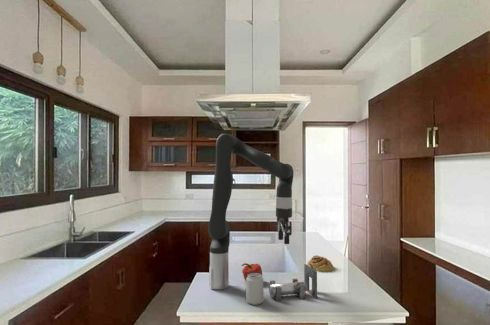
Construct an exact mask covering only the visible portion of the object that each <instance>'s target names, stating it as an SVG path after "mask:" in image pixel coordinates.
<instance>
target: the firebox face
mask: <svg viewBox="0 0 490 325" xmlns="http://www.w3.org/2000/svg"><path fill="white" fill-rule="evenodd" d="M307 264H308V263H305V264H304V269H303V271H304V273H303V274H304V275H303V276H304V279H303V280H304V281H303V282H304V284H305V287H306V291H305V292H307V293H308V294H309V295H310V294H311V295H312V296H313V297H312V296H311V295H310V296H311V297H312V298H314V299H315V300H317V299H318V271H315V270H314V269H312V268H311V267H309V266H308V265H307ZM310 278H311V290H310ZM316 298H317V299H316Z"/></svg>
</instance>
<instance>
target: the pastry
mask: <svg viewBox="0 0 490 325" xmlns="http://www.w3.org/2000/svg"><path fill="white" fill-rule="evenodd" d="M306 264H307V265H308V266H309V267H311V268H312V269H314V270H315V271H317V273H328V272H333V271H335V267H334V265H333V263H332V262H331V260H329V259H327V258H326V257H324V256H320V255H317V254H316V255H313V256H312V257H311V258H310V260H309V261H308V262H307V263H306Z"/></svg>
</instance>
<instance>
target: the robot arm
mask: <svg viewBox="0 0 490 325" xmlns="http://www.w3.org/2000/svg"><path fill="white" fill-rule="evenodd" d="M232 154H234V155H236V156H240V157H242V158H243V159H246V160H247V161H249V162H250V163H251V164H253V165H254V166H256V167H258V168H261V170H264V171H266V172H268V173H270V174H271V175H273V176H275V177H276V178H278V184H277V185H276V197H275V198H276V199H275V217H276V230H277V235H278V237H277V238H278V241H283V242H284V243H283V244H284V245H289V244H290V236H292V233H293V232H292V230H293V229H292V221H290V220H289V219H290V218H293V189H292V188H293V181H294V168H293V166H292V165H291V164H289V163H285V162H281V161H279V160H277V159H275V157H272V156H271V155H270V154H267V153H265V152H263V151H260V150H259V149H256V148H254V147H252V146H249V145H248V144H246V143H245V142H244V141H242V140H240V139H239V138H237V137H236V136H235V135H234V134H229V133H221V134H220V135H219V136H218V137H217V139H216V143H215V167H214V168H215V169H214V178H213V185H212V197H211V212H210V216H209V217H210V218H209V221H208V227H207V231H208V235H209V236H210V238H211V242H210V245H209V267H208V268H209V269H208V270H209V272H208V274H209V278H208V279H209V280H208V281H209V284H208V285H209V287H210V289H211V290H218V291H219V290H226V289H228V288H229V287H230V276H229V275H230V270H229V269H230V267H229V266H230V263H229V254H230V253H229V250H230V248H229V247H230V240H231V238H230V237H231V232H230V231H231V228H230V224H229V222H228V220H227V218H226V217H227V209H228V206H229V204H230V200H231V197H232V191H233V190H232V189H233V182H234V181H233V174H232V170H231V158H232V157H231V156H232Z"/></svg>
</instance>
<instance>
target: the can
mask: <svg viewBox="0 0 490 325" xmlns="http://www.w3.org/2000/svg"><path fill="white" fill-rule="evenodd" d="M245 282H246V283H245V294H246V295H245V298H246V302H247V303H248V304H249V305H252V306H256V305H257V306H258V305H260V304H262V303H263V302H264V277H263V274H262V275H261V274H259V273H250V274H248V277H247V278H246V281H245Z"/></svg>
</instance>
